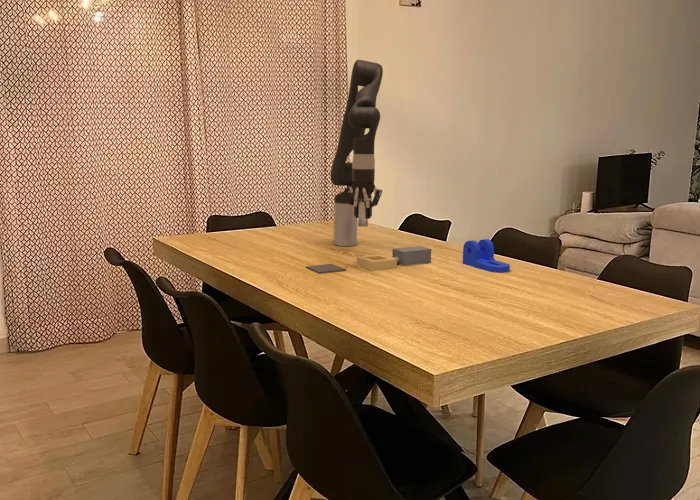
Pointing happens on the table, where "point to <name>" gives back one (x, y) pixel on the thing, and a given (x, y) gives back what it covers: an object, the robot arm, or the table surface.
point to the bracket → (483, 256)
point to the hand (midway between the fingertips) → (362, 217)
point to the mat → (325, 268)
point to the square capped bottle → (362, 212)
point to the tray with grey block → (396, 258)
